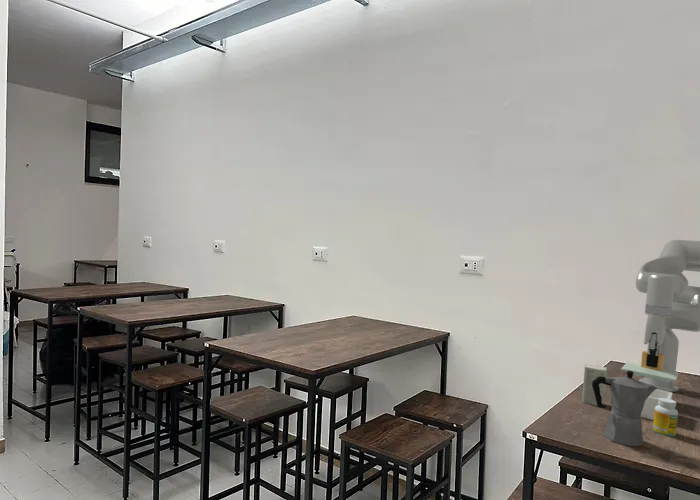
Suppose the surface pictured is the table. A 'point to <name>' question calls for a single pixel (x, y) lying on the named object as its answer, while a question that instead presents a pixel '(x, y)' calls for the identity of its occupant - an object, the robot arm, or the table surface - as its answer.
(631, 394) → the coffeepot
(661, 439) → the table surface
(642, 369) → the lid
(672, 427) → the supplement bottle
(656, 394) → the tub
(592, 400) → the skincare box
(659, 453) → the table surface
